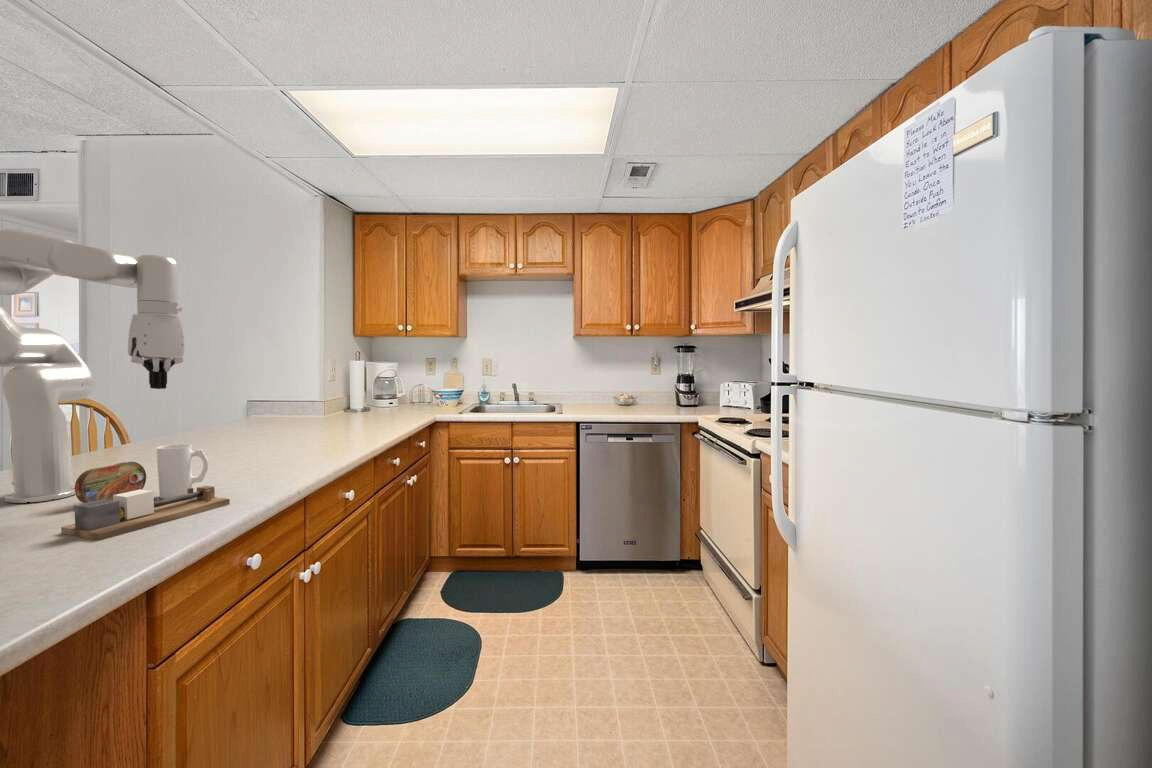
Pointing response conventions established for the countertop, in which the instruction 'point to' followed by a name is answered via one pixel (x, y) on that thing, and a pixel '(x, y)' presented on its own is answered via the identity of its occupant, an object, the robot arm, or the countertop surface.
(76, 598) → the countertop surface
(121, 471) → the tin
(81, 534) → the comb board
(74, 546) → the countertop surface
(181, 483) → the mug
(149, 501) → the off-white block
